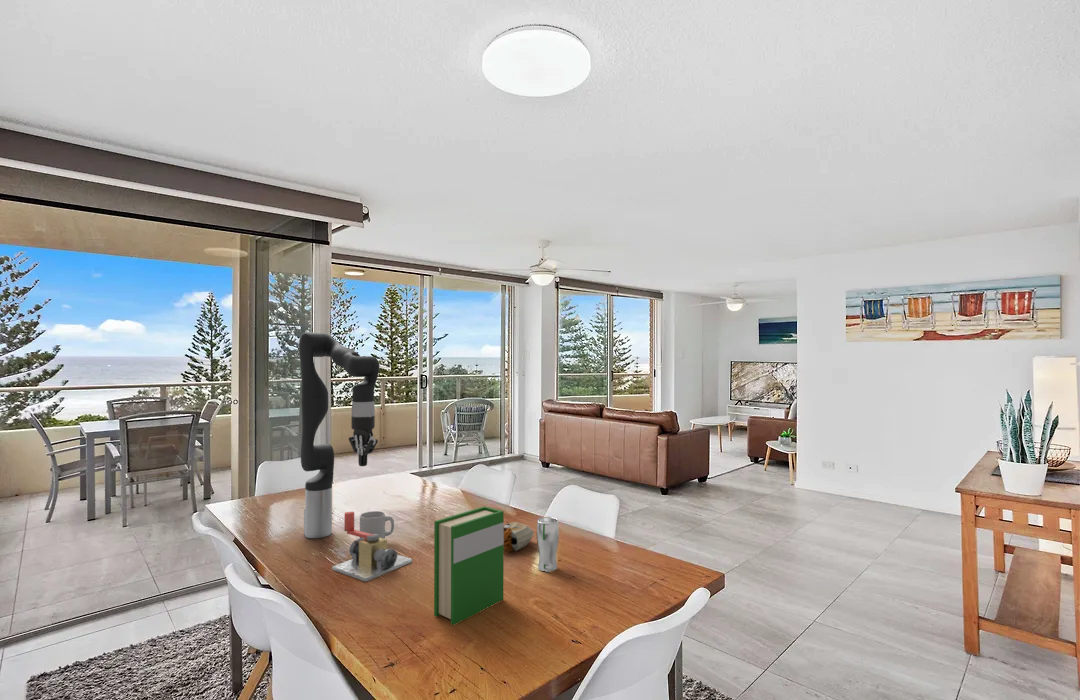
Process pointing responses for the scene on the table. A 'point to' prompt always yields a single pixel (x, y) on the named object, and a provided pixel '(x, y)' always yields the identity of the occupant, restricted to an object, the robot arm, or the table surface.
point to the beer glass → (547, 543)
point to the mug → (375, 523)
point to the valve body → (371, 560)
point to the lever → (350, 530)
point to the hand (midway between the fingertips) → (362, 465)
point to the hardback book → (468, 562)
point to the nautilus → (516, 536)
